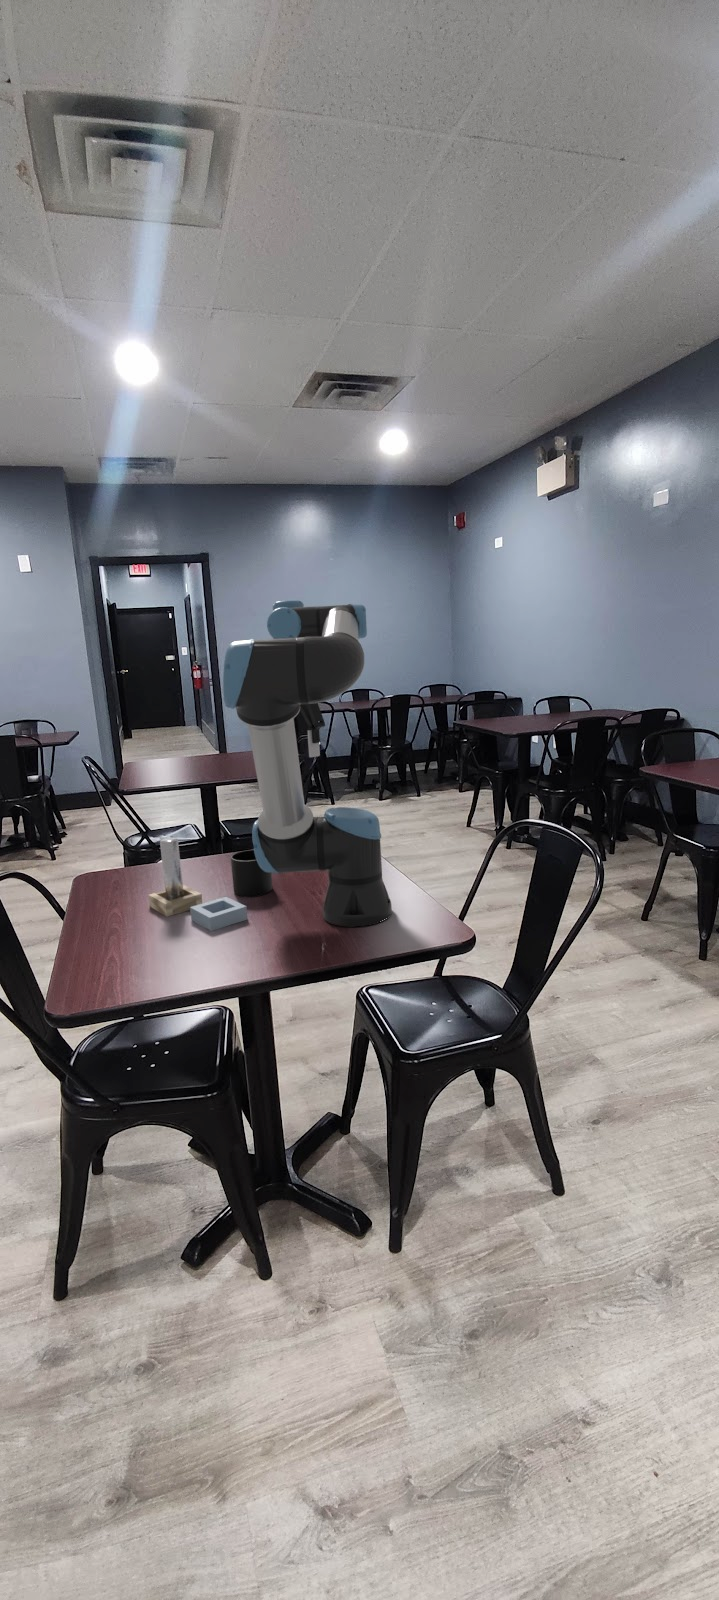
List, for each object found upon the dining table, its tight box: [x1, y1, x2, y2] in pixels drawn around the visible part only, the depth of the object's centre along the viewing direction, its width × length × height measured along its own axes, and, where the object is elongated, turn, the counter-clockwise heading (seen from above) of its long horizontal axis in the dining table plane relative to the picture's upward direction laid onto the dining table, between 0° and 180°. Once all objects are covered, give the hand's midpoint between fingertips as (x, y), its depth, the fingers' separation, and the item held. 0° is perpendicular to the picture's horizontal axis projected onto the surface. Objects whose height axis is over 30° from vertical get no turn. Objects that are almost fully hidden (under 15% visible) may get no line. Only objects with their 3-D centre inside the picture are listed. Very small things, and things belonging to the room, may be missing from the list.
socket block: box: [189, 896, 249, 932], centre depth 159 cm, size 9×9×3 cm
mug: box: [230, 849, 273, 898], centre depth 177 cm, size 9×12×9 cm
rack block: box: [148, 884, 203, 917], centre depth 168 cm, size 9×9×3 cm
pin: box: [159, 837, 184, 901], centre depth 167 cm, size 4×4×16 cm
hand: (298, 754), depth 179 cm, fingers open, 13 cm apart
